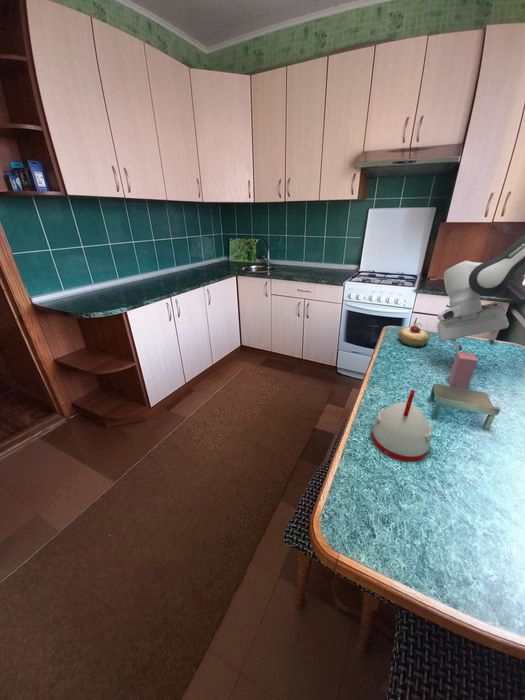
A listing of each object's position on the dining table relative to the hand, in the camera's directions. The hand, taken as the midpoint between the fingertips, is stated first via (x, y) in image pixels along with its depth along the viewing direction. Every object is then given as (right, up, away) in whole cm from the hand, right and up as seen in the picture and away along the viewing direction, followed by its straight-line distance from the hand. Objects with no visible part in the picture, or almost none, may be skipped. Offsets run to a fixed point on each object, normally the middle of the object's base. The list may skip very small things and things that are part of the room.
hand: (475, 347), depth 101 cm
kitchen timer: (-38, -25, -23) cm, 51 cm away
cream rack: (-16, -20, -14) cm, 29 cm away
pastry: (-7, +2, +29) cm, 30 cm away
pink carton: (-7, -13, -1) cm, 14 cm away
